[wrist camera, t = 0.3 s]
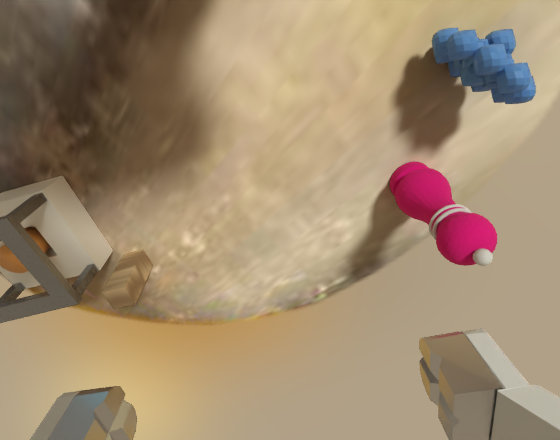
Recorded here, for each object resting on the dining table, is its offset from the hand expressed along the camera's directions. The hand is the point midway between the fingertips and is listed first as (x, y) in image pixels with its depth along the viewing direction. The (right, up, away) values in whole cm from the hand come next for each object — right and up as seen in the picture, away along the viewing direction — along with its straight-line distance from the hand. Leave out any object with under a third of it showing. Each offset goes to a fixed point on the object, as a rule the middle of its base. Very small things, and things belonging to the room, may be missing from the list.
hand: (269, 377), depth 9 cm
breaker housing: (-36, +3, +42) cm, 55 cm away
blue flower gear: (+23, +25, +32) cm, 47 cm away
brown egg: (-36, +1, +39) cm, 53 cm away
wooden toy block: (-24, -2, +46) cm, 52 cm away
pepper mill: (+20, +10, +41) cm, 47 cm away
